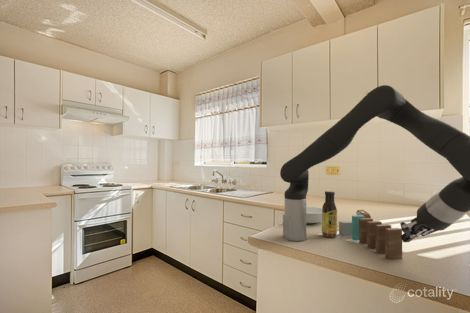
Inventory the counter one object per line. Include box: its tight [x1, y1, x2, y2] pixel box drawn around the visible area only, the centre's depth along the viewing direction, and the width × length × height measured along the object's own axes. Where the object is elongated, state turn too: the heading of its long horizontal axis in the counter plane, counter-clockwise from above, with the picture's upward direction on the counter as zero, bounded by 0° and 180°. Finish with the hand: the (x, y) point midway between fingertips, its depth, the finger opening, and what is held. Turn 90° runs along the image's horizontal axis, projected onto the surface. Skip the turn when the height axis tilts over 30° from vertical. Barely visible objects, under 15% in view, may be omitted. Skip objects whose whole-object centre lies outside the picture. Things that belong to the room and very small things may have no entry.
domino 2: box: [358, 217, 374, 245], centre depth 92 cm, size 2×5×10 cm, turn 97°
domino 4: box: [375, 223, 392, 255], centre depth 83 cm, size 2×5×10 cm, turn 97°
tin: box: [355, 209, 372, 218], centre depth 113 cm, size 15×3×8 cm, turn 168°
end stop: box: [338, 220, 352, 237], centre depth 103 cm, size 3×9×6 cm, turn 97°
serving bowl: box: [306, 205, 322, 225], centre depth 126 cm, size 21×21×7 cm
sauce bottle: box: [321, 190, 338, 238], centre depth 102 cm, size 6×6×20 cm
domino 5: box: [384, 227, 403, 260], centre depth 79 cm, size 2×5×10 cm, turn 97°
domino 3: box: [366, 220, 382, 250], centre depth 88 cm, size 2×5×10 cm, turn 97°
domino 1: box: [351, 215, 365, 241], centre depth 97 cm, size 2×5×10 cm, turn 97°
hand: (404, 239), depth 74 cm, fingers closed
